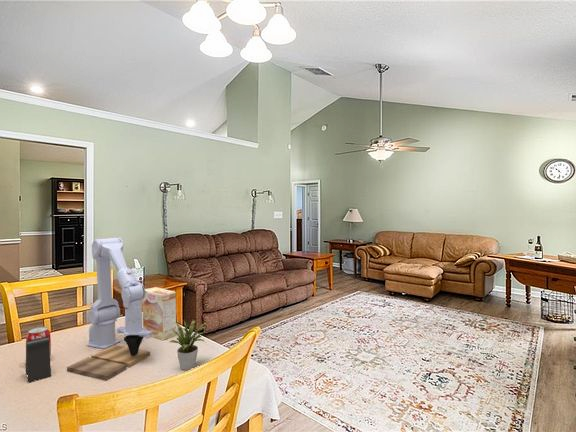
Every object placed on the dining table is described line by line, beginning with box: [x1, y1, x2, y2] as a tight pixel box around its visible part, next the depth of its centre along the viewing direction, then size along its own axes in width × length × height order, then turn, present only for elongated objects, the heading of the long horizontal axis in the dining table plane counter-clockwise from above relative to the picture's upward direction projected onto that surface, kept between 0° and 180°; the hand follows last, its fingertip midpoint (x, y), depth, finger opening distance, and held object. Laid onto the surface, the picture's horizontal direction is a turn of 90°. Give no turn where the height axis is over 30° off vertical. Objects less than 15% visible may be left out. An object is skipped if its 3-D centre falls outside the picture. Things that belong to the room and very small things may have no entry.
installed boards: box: [66, 356, 127, 381], centre depth 112 cm, size 18×8×2 cm, turn 70°
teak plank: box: [90, 344, 151, 368], centre depth 122 cm, size 18×10×2 cm, turn 70°
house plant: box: [169, 319, 209, 371], centre depth 113 cm, size 14×14×16 cm
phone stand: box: [25, 337, 52, 383], centre depth 109 cm, size 9×6×12 cm, turn 43°
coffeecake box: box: [142, 286, 177, 341], centre depth 144 cm, size 15×7×20 cm, turn 55°
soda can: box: [25, 326, 52, 358], centre depth 118 cm, size 7×7×12 cm
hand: (134, 354), depth 120 cm, fingers closed
